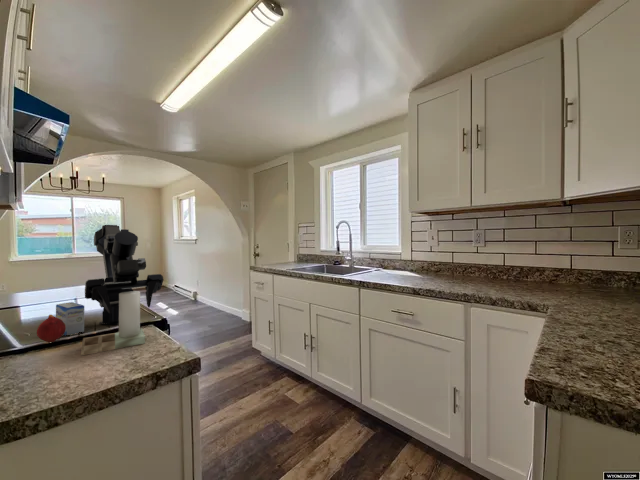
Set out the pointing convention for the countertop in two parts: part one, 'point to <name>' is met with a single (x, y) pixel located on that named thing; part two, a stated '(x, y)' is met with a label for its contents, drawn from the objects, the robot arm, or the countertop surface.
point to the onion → (51, 329)
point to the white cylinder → (129, 314)
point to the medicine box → (71, 317)
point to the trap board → (109, 342)
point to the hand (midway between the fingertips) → (130, 309)
